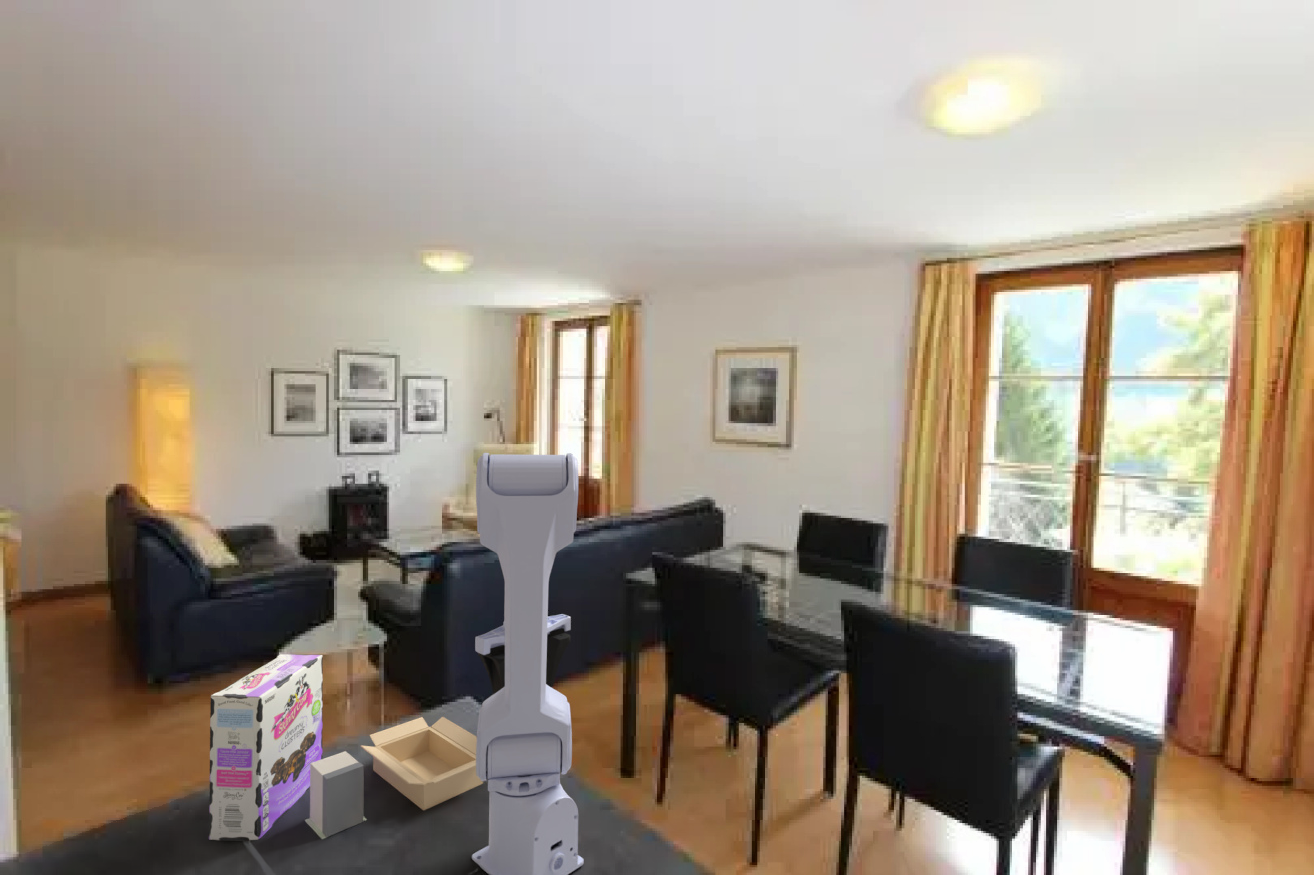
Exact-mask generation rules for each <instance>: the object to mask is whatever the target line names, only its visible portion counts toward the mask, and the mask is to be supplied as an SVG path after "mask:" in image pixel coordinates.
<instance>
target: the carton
mask: <svg viewBox="0 0 1314 875" xmlns="http://www.w3.org/2000/svg"><path fill="white" fill-rule="evenodd" d="M369 738H370V739H371V741H372V743H373V744H374V746H370V745H369V746H368V745H362V744H361V745H359V746H360V748H361V749H363V751H365V752H367V753H368V754H369V755H371V757H372V759H373V762H372V767H373V769H372V770H373V771H374V772H375V773H376V774H377V775H378V776H380V777H381V778H382V779H383V780H384V781H386V782H387V783H388V784H390V785H391V786H392V787H393V788H394V789H396V790H397V791H398V792H399V793H401V794H402V795H403V796H405V798H407V799H408V800H409V801H411V802H412V803H413V804H415V805H416V806H417V807H418V808H420V809H421V810H422V811H426V810H429V809H431V808H433V807H435V806H437V805H440V804H441V803H443V802H446V801H448V800H450V799H453V798H454V797H456V796H457V797H458V796H460V795H461V794H463V793H465V792H468V791H470V790H472V789H475V788H476V787H478V786H479V787H480V786H481V785H483V784H484V781H481V780H480V778H479V777H478V776H477V775H476V744H477V735H475V734H474V733H472V732H469V731H468V730H466V729H465V728H464V727H461V726H459V725H458V724H456V723H455V722H452V721H451V720H449V719H447V718H446V717H445V716H441V717H440V718H439V719H438V720H437V721H436V722H435V723H434V724H432V725H431V726H429V725H428V723H427V721H426V720H425V718H423V716H421V717H418V718H415V719H412V720H410V721H406V722H403V723H401V724H397V725H395V726H392V727H389V728H386V729H384V730H383V729H382V730H380V731H377V732H375V733H372V734H369Z"/></svg>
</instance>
